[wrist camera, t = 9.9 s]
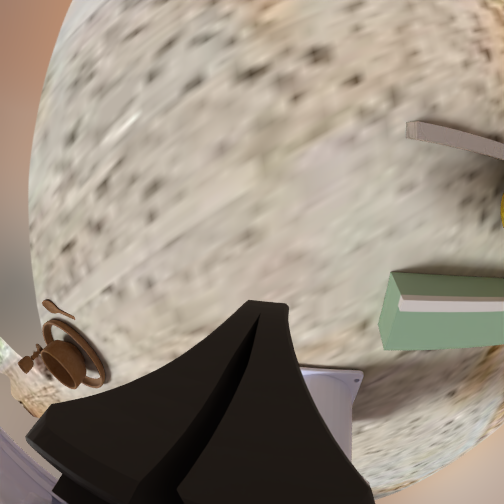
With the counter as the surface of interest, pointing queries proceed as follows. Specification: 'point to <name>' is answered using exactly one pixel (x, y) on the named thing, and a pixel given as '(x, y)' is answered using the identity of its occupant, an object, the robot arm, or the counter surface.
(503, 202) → the lemon
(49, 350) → the place setting
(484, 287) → the pale green rectangular bar
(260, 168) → the counter surface
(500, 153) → the rail
